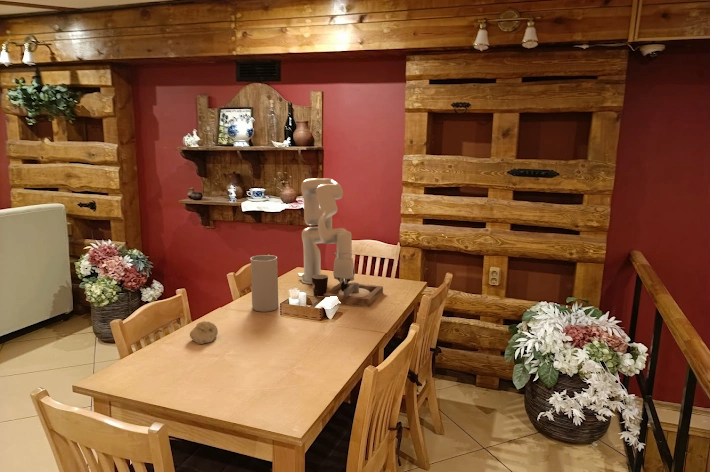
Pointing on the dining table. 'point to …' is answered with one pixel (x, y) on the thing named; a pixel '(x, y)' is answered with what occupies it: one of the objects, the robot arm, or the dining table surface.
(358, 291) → the dial
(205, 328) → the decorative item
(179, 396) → the dining table surface
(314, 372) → the dining table surface
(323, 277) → the coffee mug
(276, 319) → the dining table surface
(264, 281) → the cylinder vase
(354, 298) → the dial housing
